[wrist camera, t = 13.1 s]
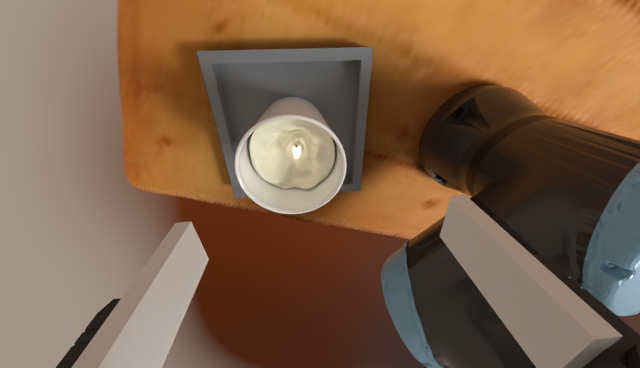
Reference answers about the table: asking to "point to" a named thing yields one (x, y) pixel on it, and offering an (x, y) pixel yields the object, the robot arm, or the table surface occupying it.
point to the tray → (290, 95)
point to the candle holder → (290, 158)
